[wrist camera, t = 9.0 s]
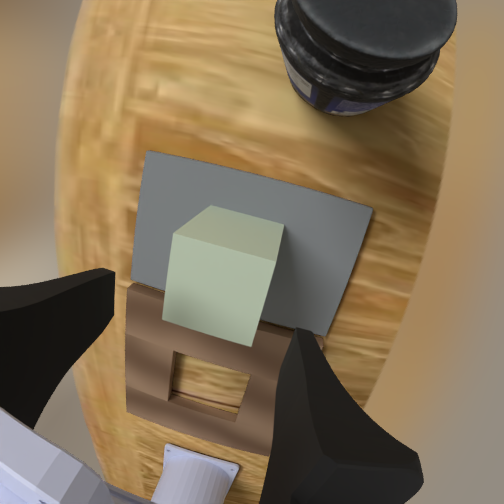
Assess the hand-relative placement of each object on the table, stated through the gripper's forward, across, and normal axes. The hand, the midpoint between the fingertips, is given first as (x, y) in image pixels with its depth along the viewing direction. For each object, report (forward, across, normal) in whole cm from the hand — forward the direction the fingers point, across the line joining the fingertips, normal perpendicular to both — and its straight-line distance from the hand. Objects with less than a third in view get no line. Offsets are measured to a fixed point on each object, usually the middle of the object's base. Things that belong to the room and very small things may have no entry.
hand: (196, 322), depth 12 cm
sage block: (+9, 0, 0) cm, 9 cm away
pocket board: (+9, 0, +12) cm, 15 cm away
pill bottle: (+9, -3, -12) cm, 15 cm away
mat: (+9, 0, 0) cm, 9 cm away
